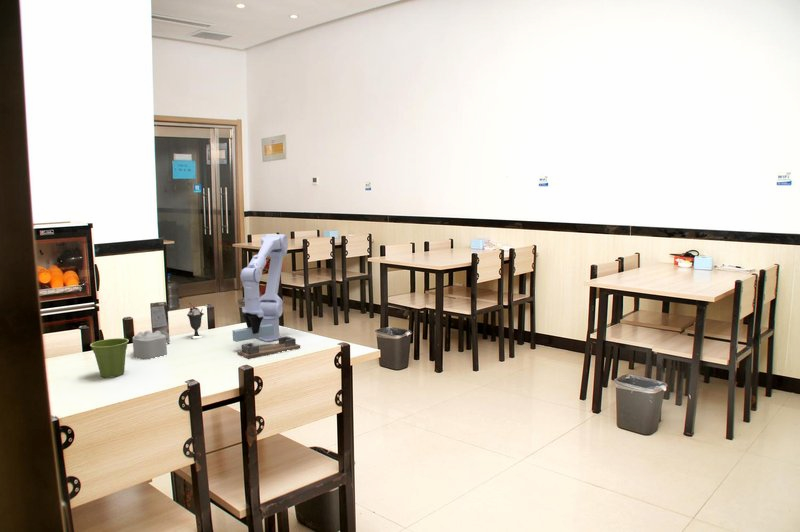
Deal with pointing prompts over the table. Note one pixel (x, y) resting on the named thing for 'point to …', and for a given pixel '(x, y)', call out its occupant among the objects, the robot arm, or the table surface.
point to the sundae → (195, 318)
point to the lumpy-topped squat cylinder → (149, 345)
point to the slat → (248, 334)
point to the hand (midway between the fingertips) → (253, 332)
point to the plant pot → (110, 356)
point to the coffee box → (160, 318)
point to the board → (268, 348)
